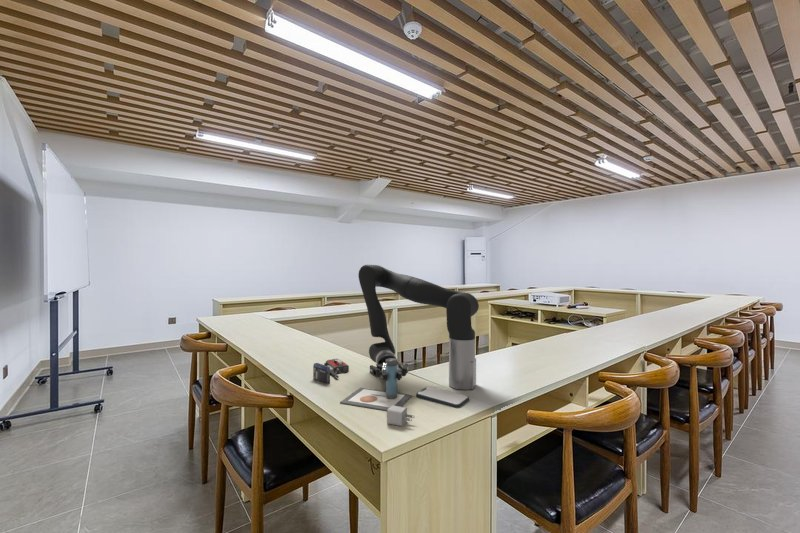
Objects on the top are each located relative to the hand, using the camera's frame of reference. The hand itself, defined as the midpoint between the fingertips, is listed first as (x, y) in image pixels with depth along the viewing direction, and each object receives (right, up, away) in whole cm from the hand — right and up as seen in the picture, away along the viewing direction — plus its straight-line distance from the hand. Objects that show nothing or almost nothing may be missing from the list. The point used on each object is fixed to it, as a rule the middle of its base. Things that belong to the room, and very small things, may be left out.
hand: (392, 377), depth 112 cm
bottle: (0, -7, +3) cm, 8 cm away
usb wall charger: (+3, -8, -14) cm, 17 cm away
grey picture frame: (-5, -8, +3) cm, 10 cm away
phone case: (+16, -9, +4) cm, 19 cm away
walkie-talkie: (-23, -8, +33) cm, 41 cm away
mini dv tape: (-27, -8, +21) cm, 35 cm away
